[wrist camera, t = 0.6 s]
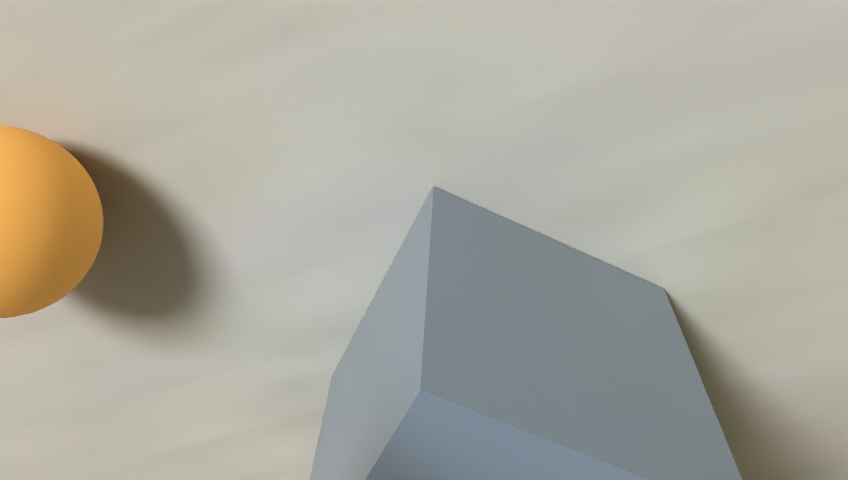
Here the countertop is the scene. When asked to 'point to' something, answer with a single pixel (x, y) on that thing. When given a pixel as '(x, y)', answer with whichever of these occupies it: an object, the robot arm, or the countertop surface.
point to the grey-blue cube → (515, 367)
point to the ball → (43, 222)
